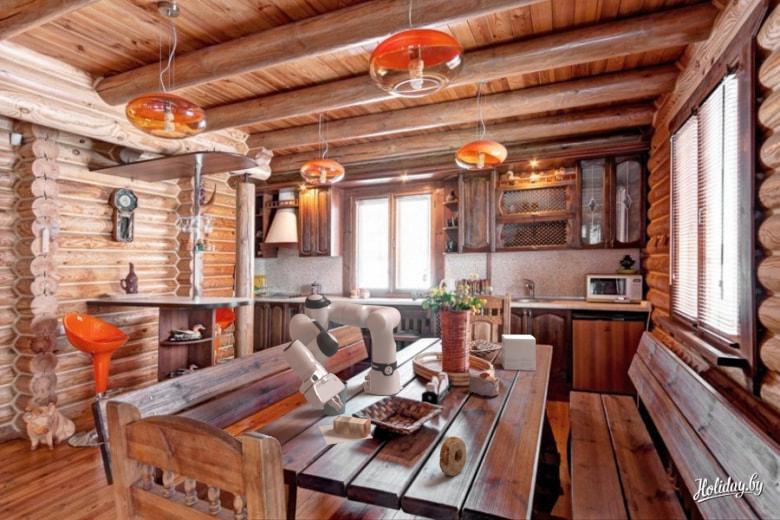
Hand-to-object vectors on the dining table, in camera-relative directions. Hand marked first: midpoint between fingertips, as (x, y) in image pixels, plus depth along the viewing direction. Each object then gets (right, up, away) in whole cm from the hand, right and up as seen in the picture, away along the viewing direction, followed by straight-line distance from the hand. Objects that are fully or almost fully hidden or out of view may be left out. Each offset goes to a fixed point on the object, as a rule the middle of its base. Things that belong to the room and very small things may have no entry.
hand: (340, 408), depth 145 cm
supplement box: (+92, -10, +91) cm, 129 cm away
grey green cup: (-5, -9, +20) cm, 22 cm away
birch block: (-2, -6, +1) cm, 7 cm away
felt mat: (+1, -9, 0) cm, 9 cm away
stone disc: (+36, -9, -27) cm, 46 cm away
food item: (+61, -9, +44) cm, 76 cm away
